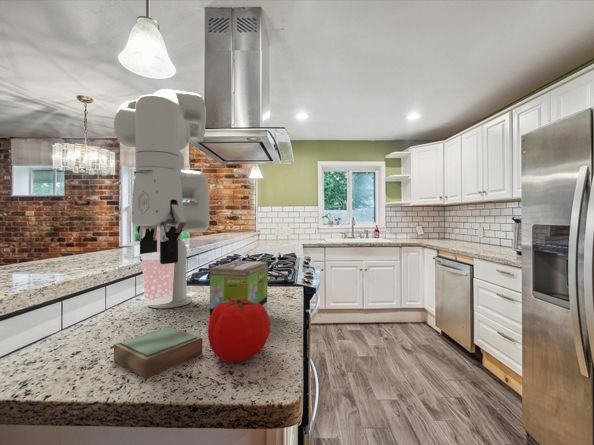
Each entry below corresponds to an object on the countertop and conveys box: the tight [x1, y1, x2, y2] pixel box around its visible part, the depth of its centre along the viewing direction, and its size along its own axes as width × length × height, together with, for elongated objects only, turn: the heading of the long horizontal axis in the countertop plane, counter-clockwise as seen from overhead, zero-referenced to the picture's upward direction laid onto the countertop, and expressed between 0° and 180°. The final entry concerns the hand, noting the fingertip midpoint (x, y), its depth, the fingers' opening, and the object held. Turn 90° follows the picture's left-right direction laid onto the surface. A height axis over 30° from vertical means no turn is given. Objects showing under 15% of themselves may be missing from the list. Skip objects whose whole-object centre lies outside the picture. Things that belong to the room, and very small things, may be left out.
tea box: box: [208, 260, 269, 320], centre depth 76 cm, size 15×10×15 cm, turn 168°
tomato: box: [207, 296, 271, 364], centre depth 55 cm, size 12×12×11 cm
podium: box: [113, 326, 203, 379], centre depth 56 cm, size 11×11×3 cm
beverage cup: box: [139, 227, 174, 306], centre depth 56 cm, size 6×6×14 cm
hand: (158, 261), depth 56 cm, fingers closed on beverage cup, 6 cm apart
